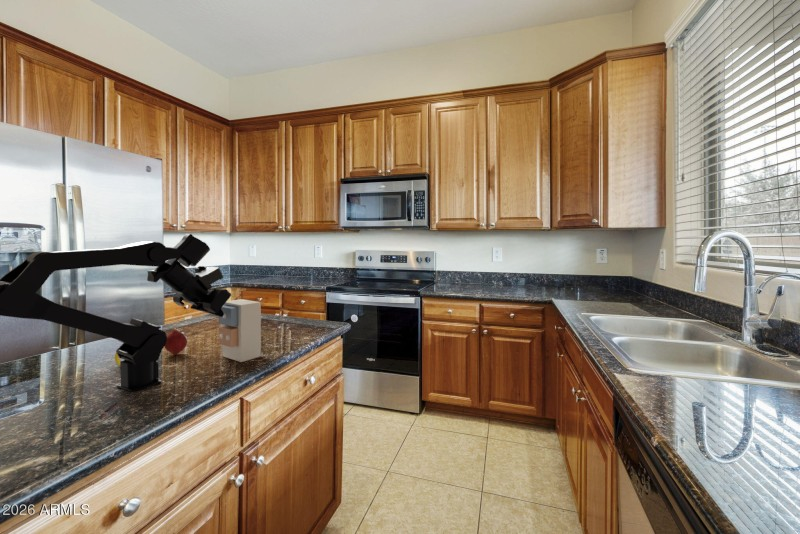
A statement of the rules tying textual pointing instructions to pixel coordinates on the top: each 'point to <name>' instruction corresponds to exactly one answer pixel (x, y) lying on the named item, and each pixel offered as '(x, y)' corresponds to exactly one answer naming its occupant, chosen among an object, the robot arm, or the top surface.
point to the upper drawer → (229, 315)
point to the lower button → (228, 336)
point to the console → (246, 331)
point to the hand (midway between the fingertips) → (222, 315)
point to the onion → (175, 342)
